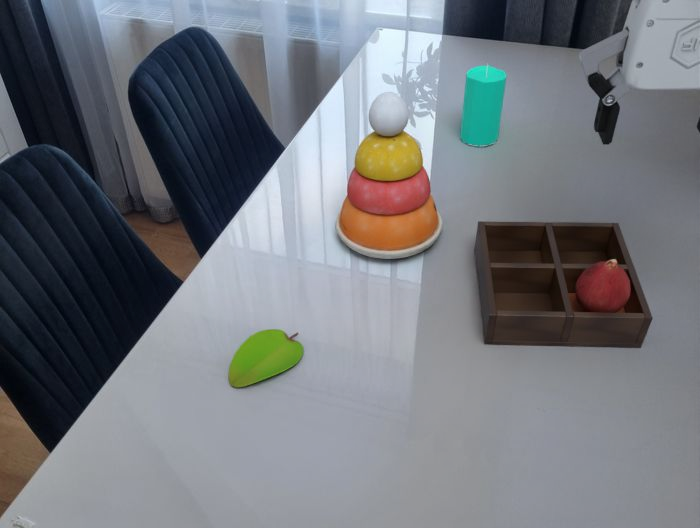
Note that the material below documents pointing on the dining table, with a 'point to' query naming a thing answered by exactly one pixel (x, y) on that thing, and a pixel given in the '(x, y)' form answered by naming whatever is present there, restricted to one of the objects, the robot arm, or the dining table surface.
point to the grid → (553, 285)
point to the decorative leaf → (264, 357)
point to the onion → (603, 287)
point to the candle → (482, 105)
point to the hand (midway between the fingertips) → (653, 136)
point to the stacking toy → (388, 189)
